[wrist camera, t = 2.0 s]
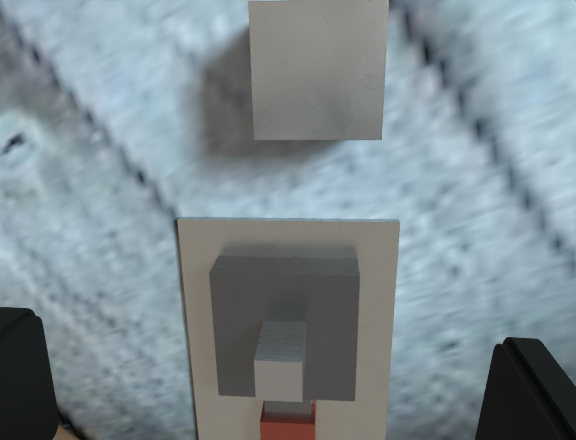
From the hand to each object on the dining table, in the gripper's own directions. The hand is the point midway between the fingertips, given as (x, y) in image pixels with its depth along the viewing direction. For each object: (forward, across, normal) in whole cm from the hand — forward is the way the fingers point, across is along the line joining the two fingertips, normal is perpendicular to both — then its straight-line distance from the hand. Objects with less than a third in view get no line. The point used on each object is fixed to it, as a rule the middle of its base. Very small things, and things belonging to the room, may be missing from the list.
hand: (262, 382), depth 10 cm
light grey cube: (+20, -1, -6) cm, 21 cm away
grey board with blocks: (+20, 0, +14) cm, 25 cm away
